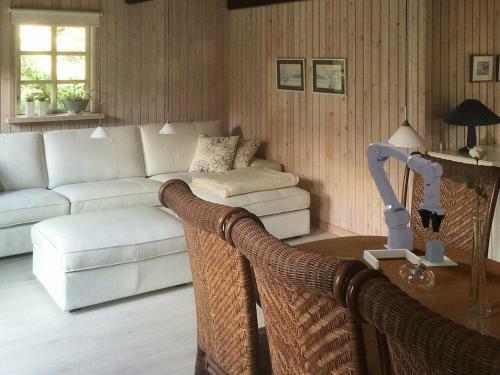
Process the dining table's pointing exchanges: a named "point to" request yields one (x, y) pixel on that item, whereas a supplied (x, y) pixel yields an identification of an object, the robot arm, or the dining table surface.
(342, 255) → the dining table surface
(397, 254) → the grey u-shaped bracket
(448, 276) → the dining table surface
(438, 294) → the dining table surface
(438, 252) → the block
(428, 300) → the dining table surface
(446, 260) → the mat
